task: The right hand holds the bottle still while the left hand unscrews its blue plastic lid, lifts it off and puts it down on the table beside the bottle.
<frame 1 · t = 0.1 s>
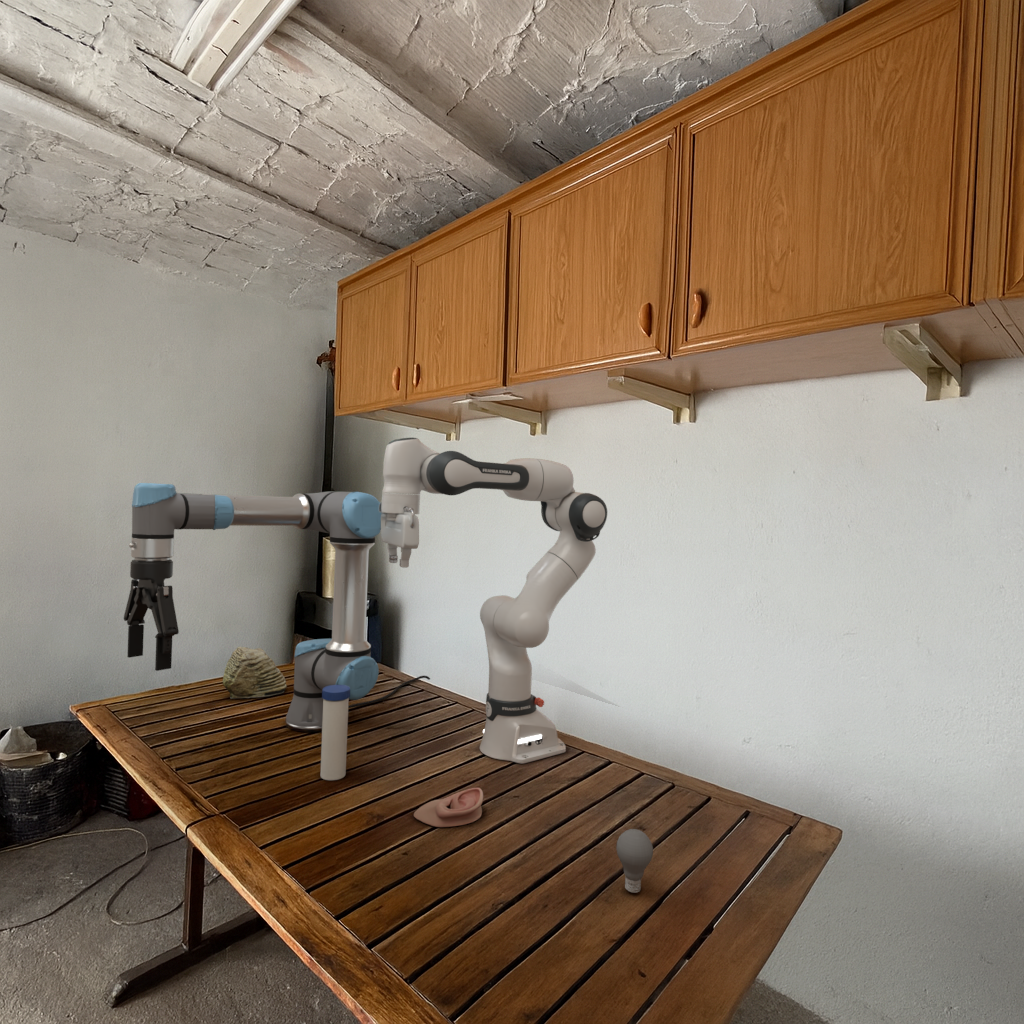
left hand: (148, 662, 129), 28 cm above the table, tool pointing down, fingers open, 13 cm apart
right hand: (398, 565, 149), 48 cm above the table, tool pointing down, fingers open, 8 cm apart
lid: (336, 690, 144), point 20 cm above the table, screwed on, not yet turned
fossil: (254, 694, 198), on the table
bottle: (333, 775, 144), on the table
light bulb: (632, 891, 106), on the table
anatomical model: (448, 814, 129), on the table
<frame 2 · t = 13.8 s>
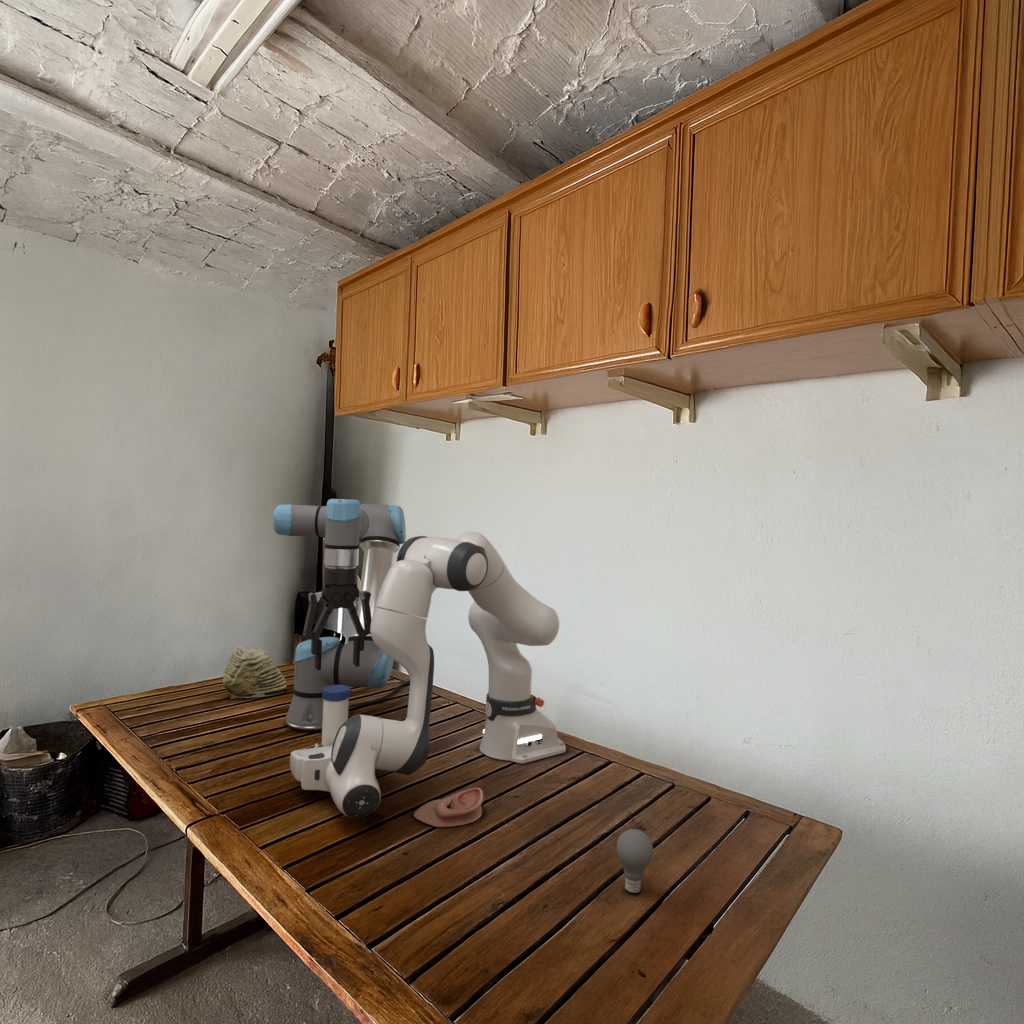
left hand: (337, 666, 144), 25 cm above the table, tool pointing down, fingers open, 8 cm apart
right hand: (333, 744, 145), 7 cm above the table, tool horizontal, fingers closed on bottle, 5 cm apart
bottle: (333, 775, 144), on the table, touching right hand
everything else where it was.
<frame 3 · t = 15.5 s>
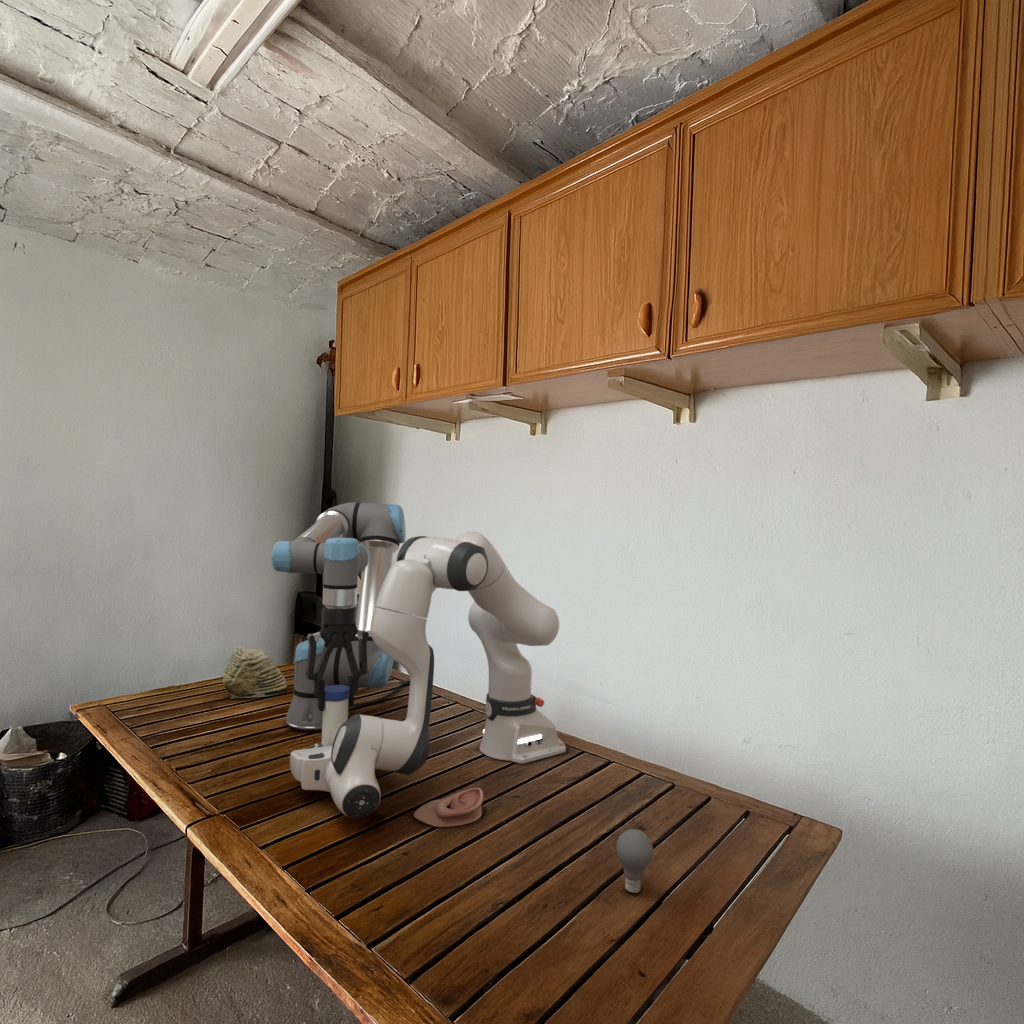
left hand: (335, 707, 144), 16 cm above the table, tool pointing down, fingers closed on lid, 6 cm apart
right hand: (333, 744, 145), 7 cm above the table, tool horizontal, fingers closed on bottle, 5 cm apart
lid: (336, 690, 144), point 20 cm above the table, screwed on, not yet turned, touching left hand
bottle: (333, 775, 144), on the table, touching right hand
everything else where it was.
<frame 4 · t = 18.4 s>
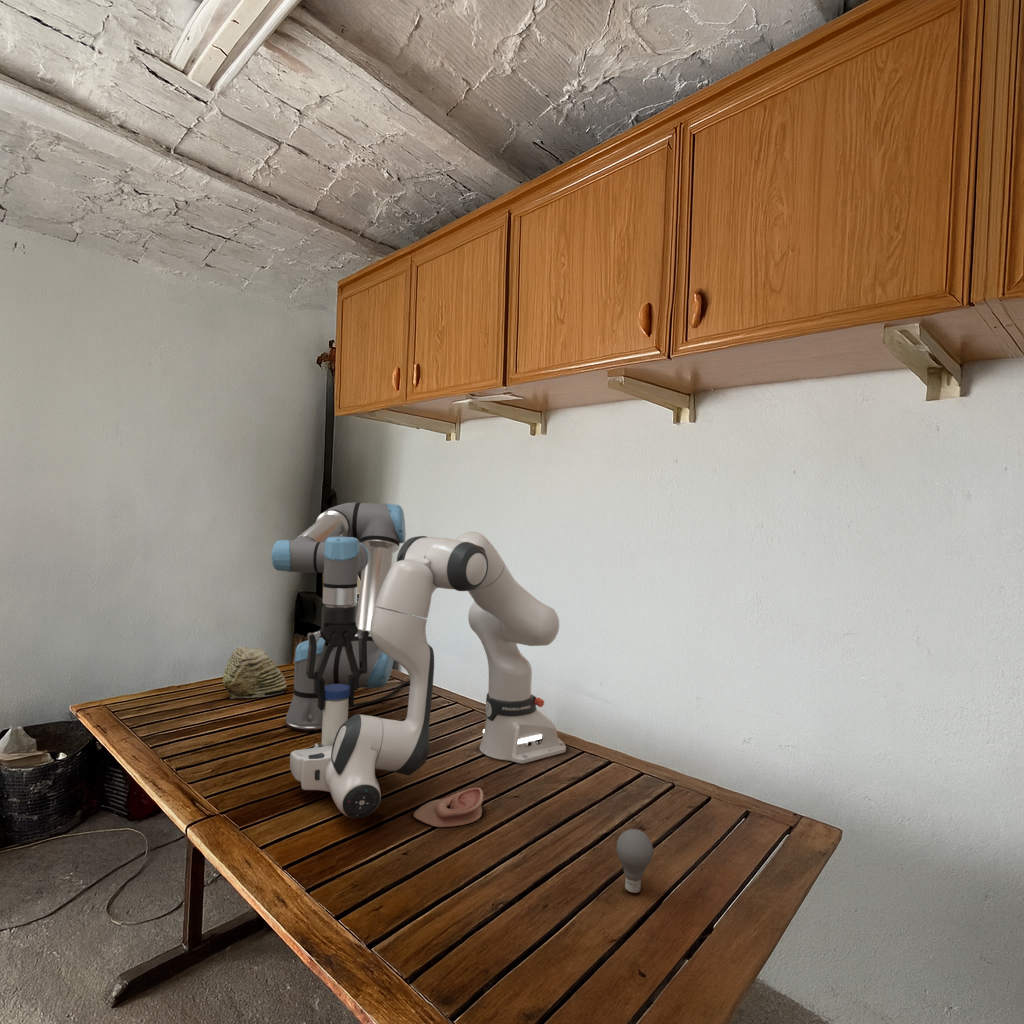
left hand: (335, 706, 144), 16 cm above the table, tool pointing down, fingers closed on lid, 6 cm apart
right hand: (333, 744, 145), 7 cm above the table, tool horizontal, fingers closed on bottle, 5 cm apart
lid: (336, 689, 144), point 20 cm above the table, turned 67° so far, risen 0.2 cm, still on its thread, touching left hand
bottle: (333, 775, 144), on the table, touching right hand
everything else where it was.
when the left hand's fingers open (16 cm above the table, at t = 19.5 s): lid stays where it is, point 20 cm above the table.
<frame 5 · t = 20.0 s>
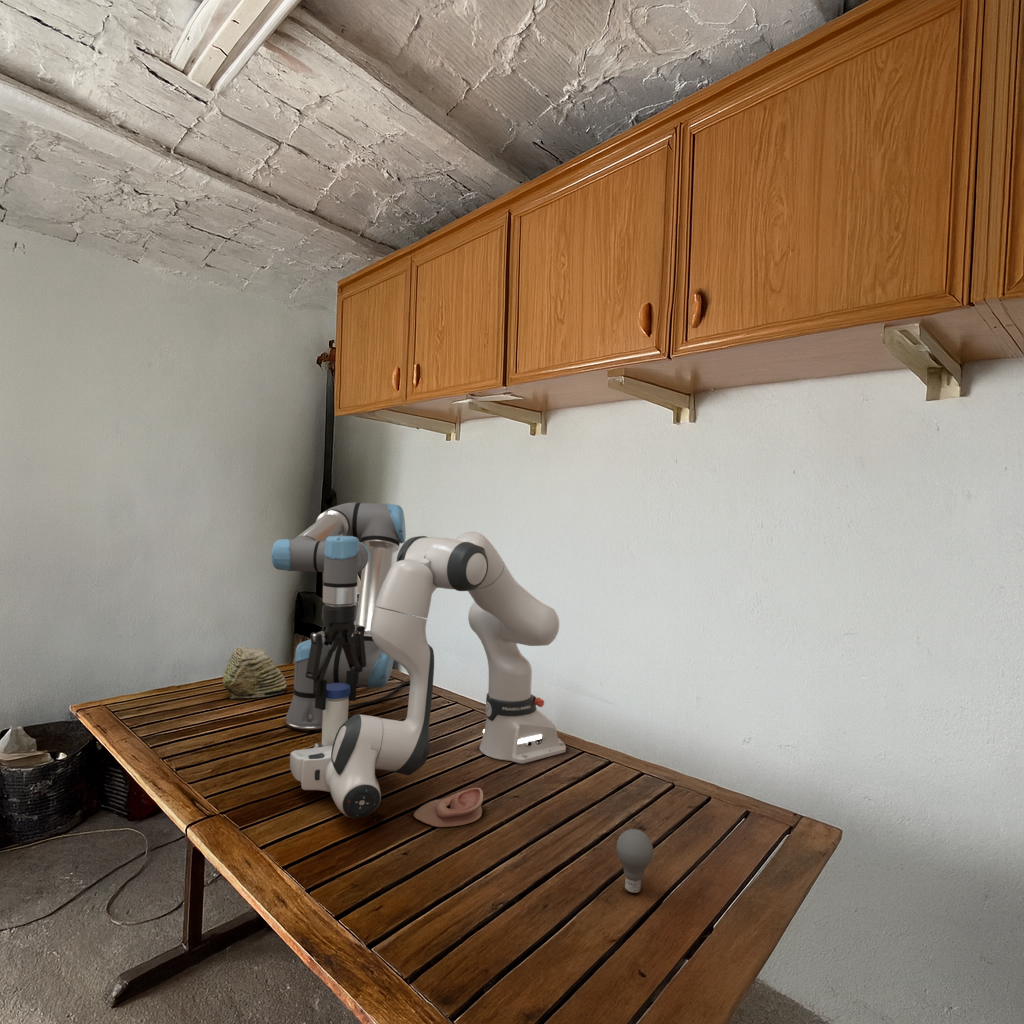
left hand: (335, 703, 144), 16 cm above the table, tool pointing down, fingers open, 8 cm apart
right hand: (333, 744, 145), 7 cm above the table, tool horizontal, fingers closed on bottle, 5 cm apart
lid: (336, 688, 144), point 20 cm above the table, turned 133° so far, risen 0.4 cm, still on its thread
bottle: (333, 775, 144), on the table, touching right hand
everything else where it was.
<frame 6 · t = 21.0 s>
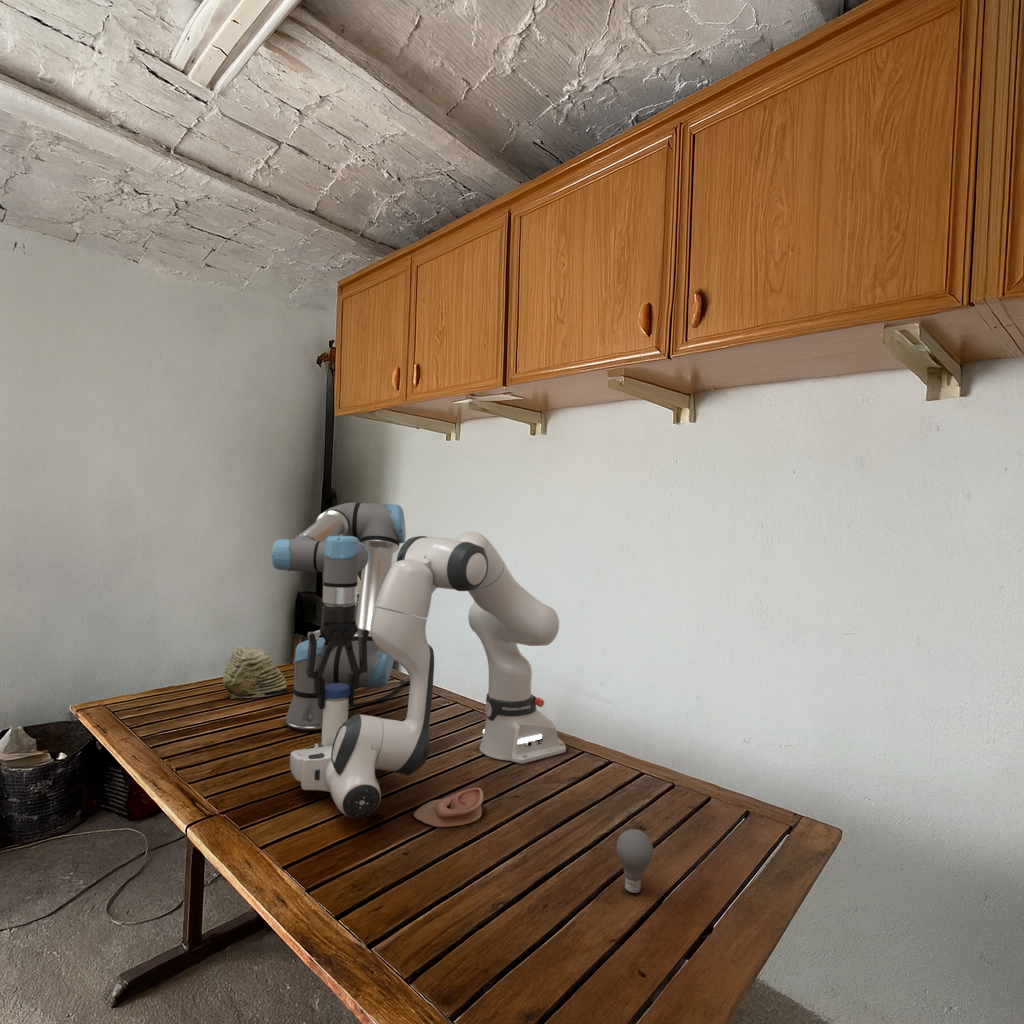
left hand: (335, 705, 144), 16 cm above the table, tool pointing down, fingers closed on lid, 6 cm apart
right hand: (333, 744, 145), 7 cm above the table, tool horizontal, fingers closed on bottle, 5 cm apart
lid: (336, 688, 144), point 20 cm above the table, turned 133° so far, risen 0.4 cm, still on its thread, touching left hand
bottle: (333, 775, 144), on the table, touching right hand
everything else where it was.
when the left hand's fingers open (0 cm above the table, at t = 27.8 s): lid drops 2 cm, point 2 cm above the table.
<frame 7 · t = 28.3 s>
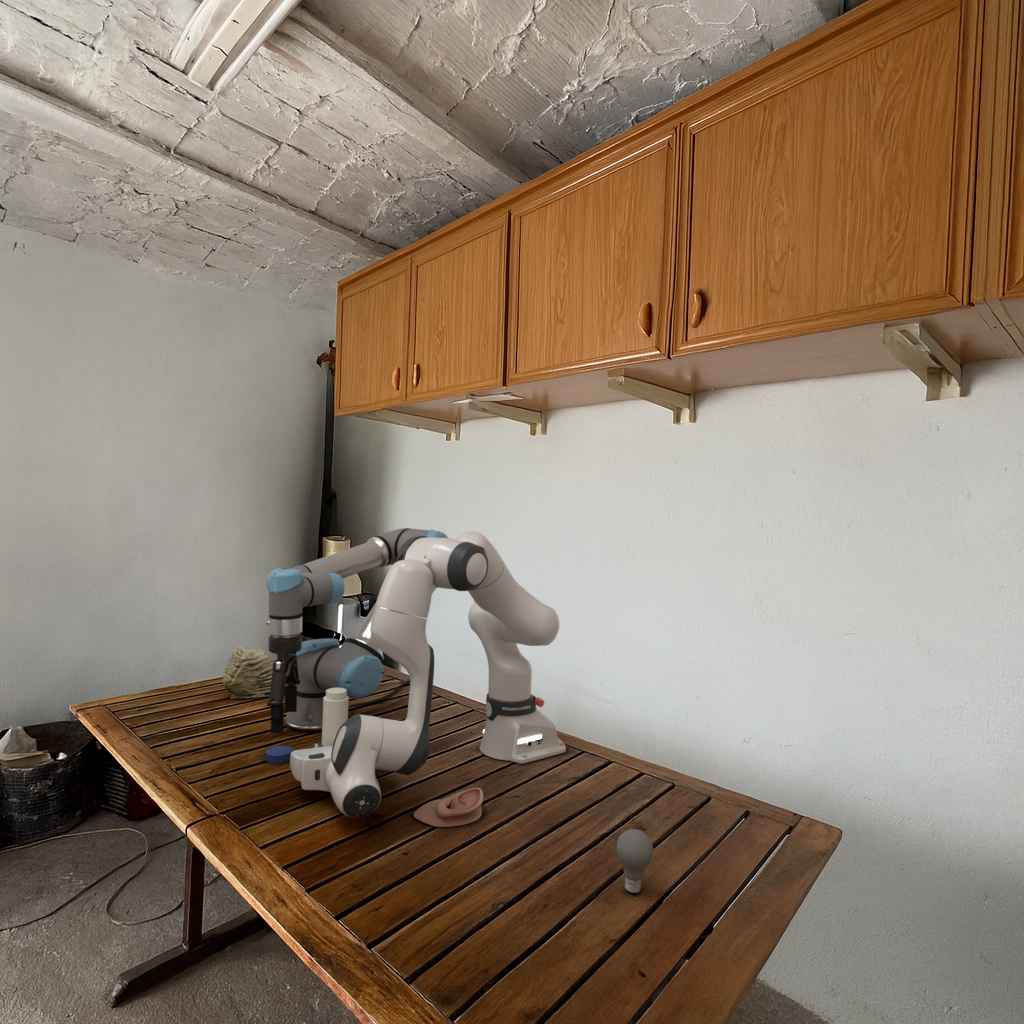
left hand: (284, 721, 153), 9 cm above the table, tool pointing down, fingers open, 13 cm apart
right hand: (333, 744, 145), 7 cm above the table, tool horizontal, fingers closed on bottle, 5 cm apart
lid: (279, 752, 152), point 2 cm above the table, off its thread
bottle: (333, 775, 144), on the table, touching right hand
everything else where it was.
when the right hand's fingers open (7 cm above the table, at t = 28.5 s): bottle stays where it is, on the table.
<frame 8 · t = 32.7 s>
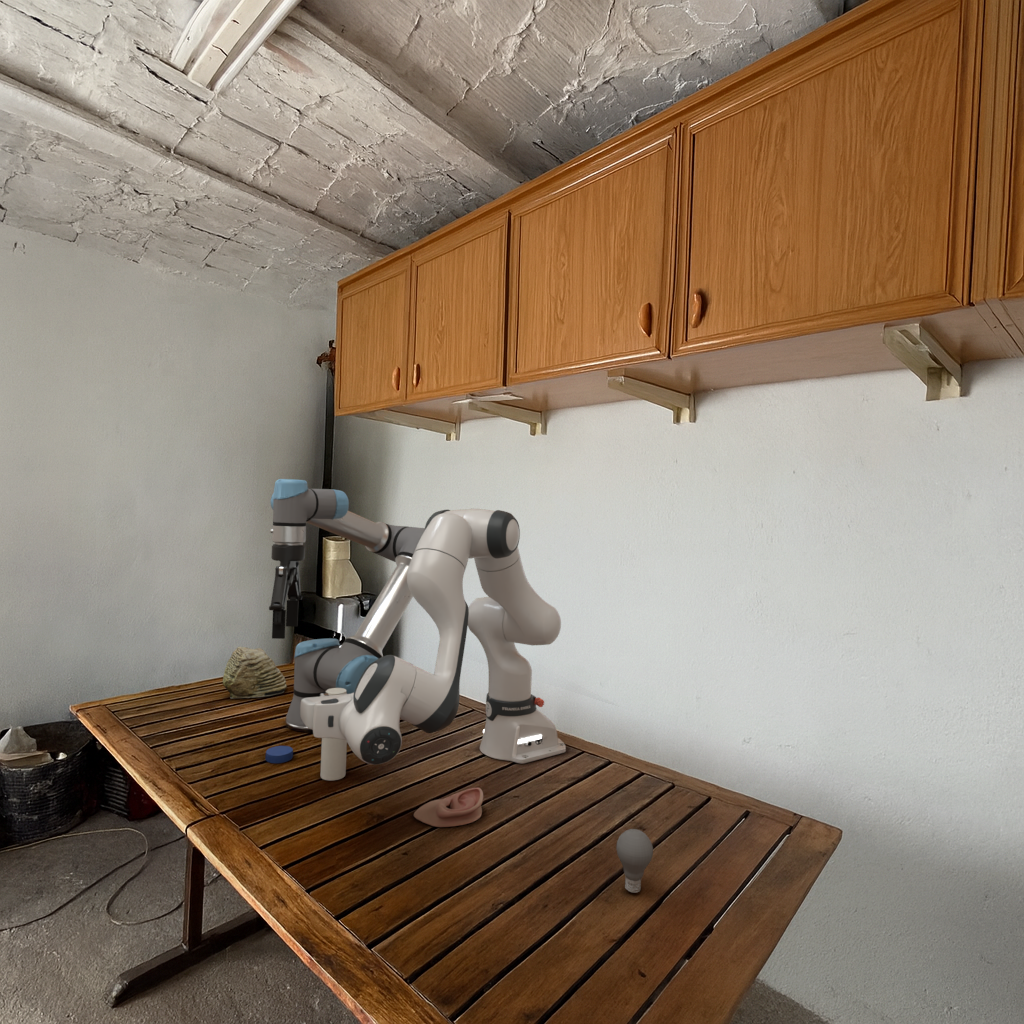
left hand: (285, 632, 152), 30 cm above the table, tool pointing down, fingers open, 13 cm apart
right hand: (346, 694, 134), 22 cm above the table, tool horizontal, fingers open, 8 cm apart
bottle: (333, 775, 144), on the table
everything else where it was.
at the end: lid came off its thread; lid point 1.5 cm above the table; the left hand is holding nothing; the right hand is holding nothing; bottle tilted 0°; bottle moved 0.1 cm from its start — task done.
